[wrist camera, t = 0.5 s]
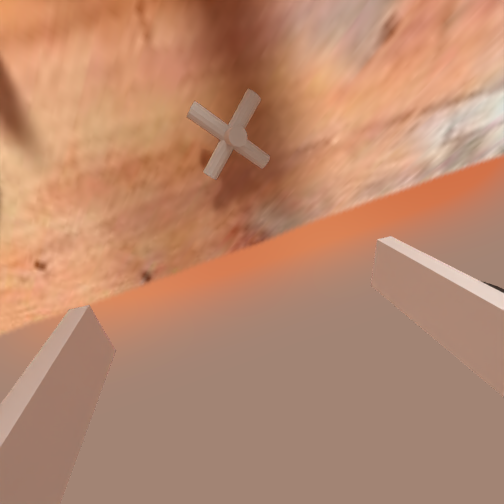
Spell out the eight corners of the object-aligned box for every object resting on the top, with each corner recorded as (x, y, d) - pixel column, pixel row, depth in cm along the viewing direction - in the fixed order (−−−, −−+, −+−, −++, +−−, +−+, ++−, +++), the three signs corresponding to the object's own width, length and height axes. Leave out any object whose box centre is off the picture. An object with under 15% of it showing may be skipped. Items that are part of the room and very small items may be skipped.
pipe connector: (237, 189, 34) (252, 206, 26) (173, 150, 30) (165, 154, 22) (275, 125, 32) (306, 120, 23) (210, 73, 28) (218, 42, 19)
